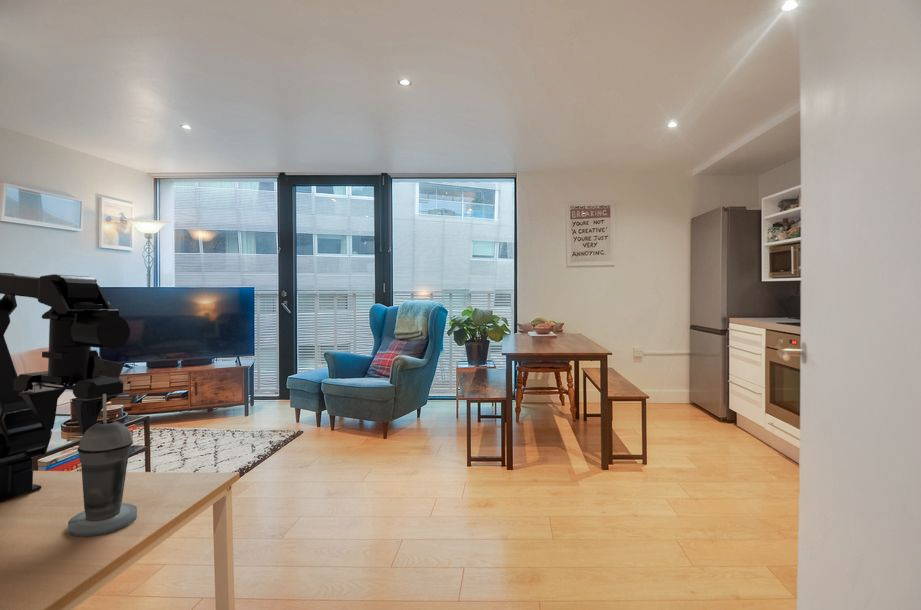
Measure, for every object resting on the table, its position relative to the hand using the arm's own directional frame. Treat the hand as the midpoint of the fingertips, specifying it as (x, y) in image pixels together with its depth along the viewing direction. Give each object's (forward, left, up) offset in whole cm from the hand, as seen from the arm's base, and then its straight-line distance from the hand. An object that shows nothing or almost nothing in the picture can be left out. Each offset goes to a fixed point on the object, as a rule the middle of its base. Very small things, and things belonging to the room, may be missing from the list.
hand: (67, 432), depth 80 cm
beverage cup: (+12, -3, -12) cm, 17 cm away
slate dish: (+12, -3, -13) cm, 18 cm away
